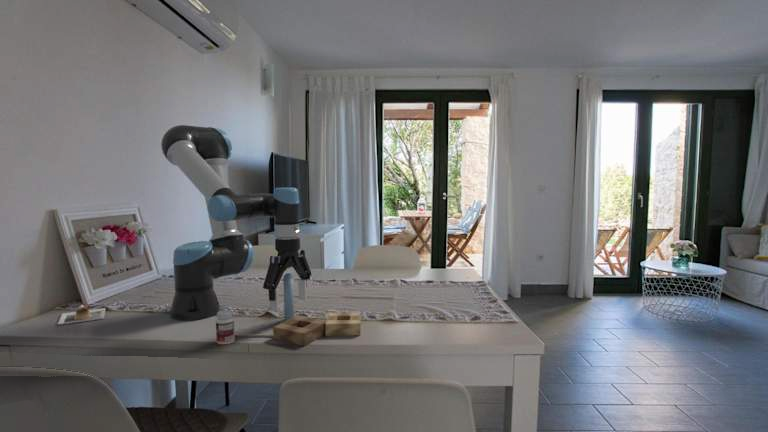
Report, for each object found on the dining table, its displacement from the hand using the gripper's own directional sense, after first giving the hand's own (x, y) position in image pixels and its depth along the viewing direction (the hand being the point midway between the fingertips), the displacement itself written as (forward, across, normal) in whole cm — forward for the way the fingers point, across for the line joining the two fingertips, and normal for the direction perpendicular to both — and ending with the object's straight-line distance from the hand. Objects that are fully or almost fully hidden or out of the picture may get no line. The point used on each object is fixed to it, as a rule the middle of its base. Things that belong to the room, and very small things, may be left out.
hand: (289, 304), depth 135 cm
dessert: (+6, -28, +62) cm, 68 cm away
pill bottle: (+6, -21, +5) cm, 22 cm away
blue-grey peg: (+5, 0, 0) cm, 5 cm away
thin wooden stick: (+5, -15, +2) cm, 16 cm away
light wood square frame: (+6, +2, -19) cm, 20 cm away
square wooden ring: (+6, -8, -11) cm, 14 cm away
